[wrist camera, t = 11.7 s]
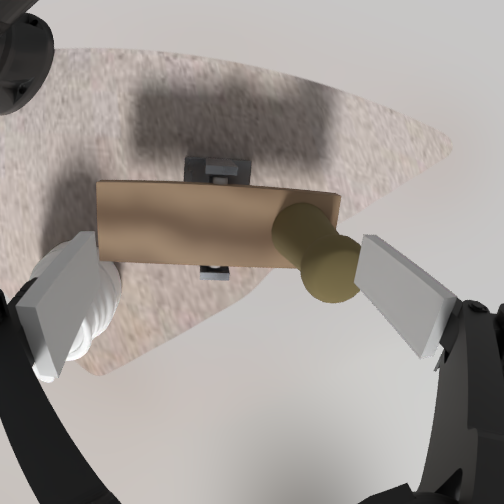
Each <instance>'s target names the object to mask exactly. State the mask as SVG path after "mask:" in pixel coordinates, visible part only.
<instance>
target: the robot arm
mask: <svg viewBox="0 0 504 504" xmlns="http://www.w3.org/2000/svg"><path fill="white" fill-rule="evenodd" d="M37 1H38V0H0V115H7V114H10V113H13V112H15V111H17V110H18V109H20V108H21V107H23V106H24V105H25V104H26V103H28V102H29V101H30V100H31V99H32V98H33V96H34V95H35V94H36V93H37V91H38V90H39V89H40V87H41V86H42V84H43V82H44V80H45V78H46V76H47V74H48V72H49V69H50V66H51V63H52V59H53V53H54V40H53V35H52V32H51V29H50V27H49V26H48V25H47V23H46V22H45V21H43V20H42V19H40V18H39V17H37V16H35V15H33V14H30V13H25V12H26V11H27V10H28V9H30V8H31V7H32V6H33V5H34V4H35V3H36V2H37ZM354 283H355V285H356V286H357V287H358V288H359V289H360V290H361V291H362V292H363V293H364V294H365V296H366V297H367V298H368V299H369V300H370V301H371V302H372V304H373V305H374V306H375V307H376V308H377V309H378V310H379V311H380V312H381V314H382V315H383V316H384V317H385V318H386V319H387V321H388V322H389V323H390V324H391V325H392V326H393V327H394V329H395V330H396V331H397V332H398V333H399V335H400V336H401V337H402V338H403V339H404V340H405V342H406V343H407V344H408V345H409V346H410V348H411V349H412V350H413V351H414V352H415V353H416V355H417V356H418V357H419V358H420V359H422V358H426V357H431V356H434V354H435V352H436V350H437V347H438V345H439V343H440V344H441V345H442V346H443V348H444V350H443V352H442V354H441V356H440V358H439V361H438V363H437V365H436V367H435V369H434V371H437V369H438V368H440V371H439V381H438V390H437V398H436V406H435V413H434V420H433V426H432V432H431V438H430V443H429V448H428V453H427V457H426V463H425V466H424V471H423V475H422V479H421V483H420V485H419V488H418V490H417V491H416V492H412V491H411V489H410V487H409V485H408V484H407V483H405V484H403V485H400V486H398V487H395V488H392V489H390V490H387V491H384V492H381V493H378V494H375V495H372V496H370V497H368V498H366V499H365V500H363V501H361V502H360V503H358V504H504V304H501V305H500V307H499V310H498V312H497V314H492V313H490V311H489V310H488V308H487V307H486V306H484V305H483V304H481V303H480V302H478V301H472V300H465V301H463V302H462V301H461V300H459V299H458V298H457V296H456V295H455V294H453V293H452V292H451V291H450V290H448V289H447V288H446V287H444V286H443V285H442V284H441V283H440V282H438V281H437V280H436V279H434V278H433V277H432V276H431V275H429V274H428V273H427V272H425V271H424V270H423V269H422V268H420V267H419V266H417V265H416V264H415V263H414V262H412V261H411V260H410V259H408V258H407V257H406V256H404V255H403V254H401V253H400V252H399V251H397V250H396V249H394V248H393V247H392V246H391V245H389V244H388V243H386V242H385V241H384V240H382V239H381V238H379V237H378V236H377V235H363V241H362V246H361V251H360V255H359V260H358V265H357V270H356V275H355V279H354ZM100 285H101V281H100V274H99V266H98V258H97V249H96V240H95V231H80V232H79V233H78V234H77V235H76V236H75V237H74V238H73V239H72V240H71V241H70V242H69V244H68V245H67V246H66V247H65V248H64V249H63V250H62V251H61V252H60V253H59V254H58V256H57V257H56V258H55V259H54V260H53V261H52V262H51V263H50V265H49V266H48V267H47V268H46V269H45V270H44V271H43V273H42V274H41V275H40V276H39V277H34V278H33V279H31V280H30V281H28V282H26V283H25V284H24V285H23V287H22V288H21V289H20V291H18V292H17V294H16V295H15V297H13V299H12V300H11V301H10V302H9V303H8V305H7V303H6V300H5V296H4V293H3V291H2V290H1V289H0V418H1V421H2V423H3V426H4V429H5V432H6V434H7V436H8V439H9V441H10V444H11V446H12V449H13V451H14V453H15V455H16V458H17V460H18V462H19V464H20V467H21V469H22V471H23V473H24V475H25V477H26V479H27V481H28V483H29V485H30V487H31V488H32V490H33V492H34V494H35V496H36V498H37V500H38V501H39V503H40V504H121V503H120V501H118V499H117V498H116V497H115V496H114V495H113V493H112V492H110V491H109V490H108V489H107V488H106V486H105V485H104V484H103V483H102V481H101V480H100V479H99V478H98V476H97V475H96V473H95V472H94V471H93V469H92V468H91V467H90V465H89V464H88V462H87V461H86V460H85V458H84V457H83V455H82V454H81V452H80V451H79V449H78V448H77V446H76V445H75V443H74V442H73V440H72V439H71V438H70V436H69V434H68V433H67V431H66V429H65V428H64V426H63V424H62V423H61V421H60V419H59V418H58V416H57V414H56V413H55V411H54V409H53V407H52V405H51V404H50V402H49V401H48V399H47V396H46V395H45V393H44V391H43V389H42V387H41V385H40V383H39V381H38V379H37V377H36V375H35V373H34V371H33V369H32V366H33V364H34V362H35V364H36V367H37V369H38V372H39V374H40V375H43V376H50V377H58V378H59V375H60V373H61V370H62V368H63V365H64V363H65V361H66V358H67V356H68V354H69V351H70V349H71V347H72V344H73V342H74V340H75V338H76V335H77V333H78V331H79V329H80V327H81V325H82V322H83V320H84V318H85V316H86V314H87V312H88V310H89V308H90V306H91V304H92V301H93V299H94V297H95V295H96V293H97V291H98V289H99V287H100Z"/></svg>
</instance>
